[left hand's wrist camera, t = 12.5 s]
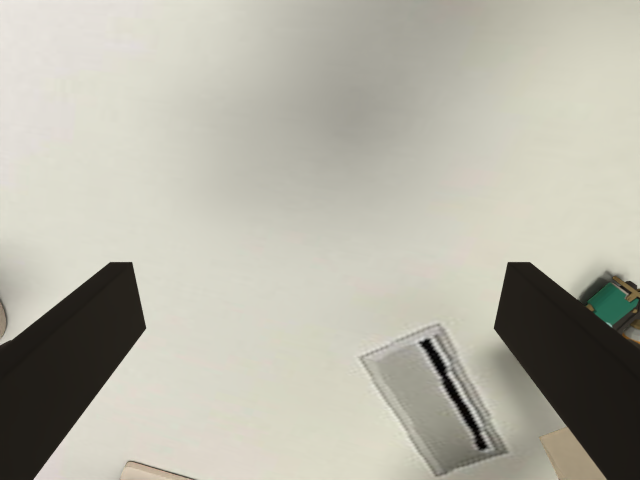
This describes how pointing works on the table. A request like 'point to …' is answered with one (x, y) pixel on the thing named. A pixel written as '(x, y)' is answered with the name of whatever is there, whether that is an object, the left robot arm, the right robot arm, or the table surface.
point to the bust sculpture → (2, 321)
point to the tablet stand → (146, 473)
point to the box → (569, 457)
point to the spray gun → (619, 308)
